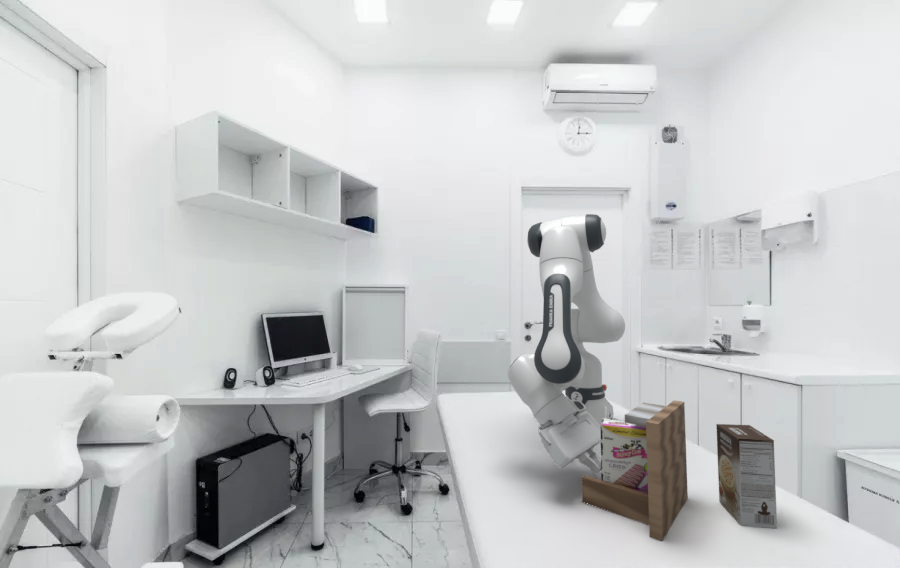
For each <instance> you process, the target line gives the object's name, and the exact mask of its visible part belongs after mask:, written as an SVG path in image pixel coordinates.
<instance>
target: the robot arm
mask: <svg viewBox="0 0 900 568" xmlns="http://www.w3.org/2000/svg"><path fill="white" fill-rule="evenodd" d="M606 236H607V227H606V225H605V223H604V222H603V219H602V217H600V215H598V214H595V213H594V214H591V213H590V214H589V213H588V214H585V215H572V216H571V215H570V216H564V217H562V218H557V219H556V218H555V219H553V220H548V221H545V222H542V221H541V222H537V223H535V224H533V225H531V227H530V228H529V229H528V231H527V237H526V238H527V239H526V243H527V247H528V249H529V251H530V253H531V254H532V255H533V256H535V257H536V258H539V280H540V281H539V282H540V286H541V291H542V297H543V308H542V309H543V310H542V313H543V315H542V332H541V337H540V339H539V342H538V344H537V346H536V348H535V352H534V353H523V354H520V356H518V357H517V358H516V359H515V360H513V362H512V364H510V366H509V368H508V372H507V379H508V381H509V383H510V385H511V387H512V388H513V389H514V391H515V393H516V394H517V395H518V397H519V398H520V401H522V403H523V404H525V405H526V406H527V407H528V408H529V409H530V410H531V413H532V416H533V418H534V419H535V420H536V421H537V423H538V424H539V425H538V435H539V437H540V440H541V443H542V445H543V447H544V448H545V451H546V452H547V453H548V455H549V457H550V458H551V460H552V462H553V463H554V465H556V466H557V467H559V468H560V469H563V468H565V467H566V466H567V465H570V464H571V463H573V462H574V461H575V460H576V459H578V461H579V463H581V464H582V465H584V466H585V467H586V468H588V469H589V471H591V473H592V474H593V475H595V476H596V475H598V474H599V473H601V457H600V456H599V453H598V451H597V449H596V448H595V446H597V445H598V444H601V422H602V418H604V419H613V420H620V419H619V418H615V417H614V407H613V405H612V404H611V403H610V401H608V399H607V398H606V391H607V388H608V385H607V384H605V383H603V373H602V371H603V370H602V369H603V367H602V362H601V361H600V359H599V358H598V357H597V356H596V355H595V354H592V353H591V352H590V351H589V352H588V351H587V349H586V348H585V346H584V343H589V344H590V343H593V344H607V343H615V342H618V341H620V340H621V338H622V337H623V336H624V334H625V330H626V323H625V319H624V317H623V316H622V314H621V313H620V312H618V310H616V309H614V308H612V307H611V306H609V305H608V304H607V302H606V301H605V300H604V299H603V297H602V296H601V295H600V293H599V290H598V288H597V283H596V279H595V273H594V266H593V259H592V254H591V253H594V252H596V251H598V250H599V249H601V248H602V247H603V246H604V245H605V240H606V238H607V237H606ZM572 303H573V305H575V306H576V307H577V308H572ZM563 391H564V392H565V393H564V392H563Z"/></svg>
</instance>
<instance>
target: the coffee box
mask: <svg viewBox="0 0 900 568" xmlns="http://www.w3.org/2000/svg"><path fill="white" fill-rule="evenodd" d="M774 441H775V440H774V439H773V438H771V437H769V436H767V435H766V434H764V433H763V432H761V431H760V430H758V429H756V427H755V428H754V427H753V426H751V424H750V425H749V424H727V423H726V424H725V423H724V424H723V423H722V424H721V423H716V447H717V453H716V454H717V475H718V478H717V479H718V500H719V503H720V504H721V505H722V506H723V508H725V510H726V511H727V512H728V513H729V514H730V515H731V517H732V518H734V520H735V521H736V522H737V523H738V524H739V526H742V527H743V526H744V527H755V528H756V527H757V528H767V529H777V528H778V519H777V518H778V517H777V495H776V493H777V492H776V491H777V490H776V465H775V442H774Z"/></svg>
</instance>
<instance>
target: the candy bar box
mask: <svg viewBox="0 0 900 568" xmlns="http://www.w3.org/2000/svg"><path fill="white" fill-rule="evenodd" d="M600 461H601V471H600V473H601V474H600V475H601V478H600V480H603V481H606V482H610V483H613V484H617V485H620V486H623V487H627V488H630V489H634V490H637V491H641V492H644V493H647V494H648V471H647V439H646V426H641V425H635V424H630V423H625V420H621V419H619V420H613V419H604V418H602V422H601V442H600Z"/></svg>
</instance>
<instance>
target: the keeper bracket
mask: <svg viewBox="0 0 900 568" xmlns="http://www.w3.org/2000/svg"><path fill="white" fill-rule="evenodd" d="M685 415H686V412H685V401H681V400H672V401H671V402H670V403H669V404H667V405H661V404H653V403H648V402H642V403H641V404H639V405H637V406H636V407H634V408H632V409H631V410H630V411H628V412H626V413H625V414H624V421H625V423H630V424H635V425H641V426H646V439H647V471H648V494H647V493H644V492H641V491H637V490H634V489H630V488H627V487H623V486H620V485H617V484H613V483H610V482H606V481H603V480H601V479H600V478H599V479H598V478H595V477H593V476H589V475H583V476H582V477H581V501H582V503H583V502H585V503H584V504H586V503H588V504H587V505H589V504H590V505H589V506H592V505H593V506H592V507H595V506H596V507H595V508H598V507H599V508H598V509H601V508H602V510H604V509H605V510H604V511H607V510H608V511H607V512H610V511H611V512H610V513H613V514H615V513H616V515H618V514H619V515H618V516H621V515H622V517H625V518H628V519H630V520H634V521H636V522H639V523H643V524H645V525H648V527H649V529H648V531H649V532H648V533H649V535H648V536H649V538H652V539H654V540H658V541H660V542H663V541H664V539H665V537H666V536H667V534H668V532H669V530H670V529H671V527H672V526H673V524H674V522H675V520H676V518H677V517H678V515H679V514H680V513H681V510H682V509H683V507H684V506H685V504H686V502H687V500H688V498H689V495H688V494H689V493H688V470H687V466H688V465H687V443H686V438H687V437H686V416H685Z"/></svg>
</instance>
